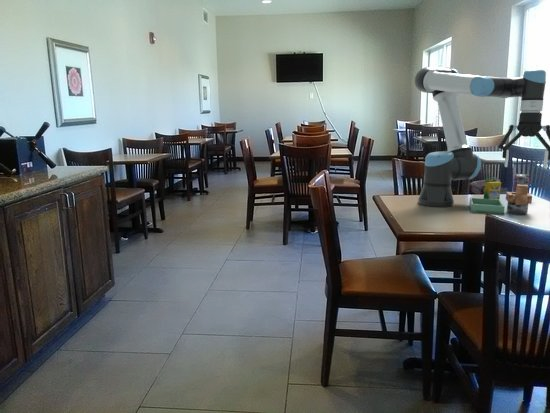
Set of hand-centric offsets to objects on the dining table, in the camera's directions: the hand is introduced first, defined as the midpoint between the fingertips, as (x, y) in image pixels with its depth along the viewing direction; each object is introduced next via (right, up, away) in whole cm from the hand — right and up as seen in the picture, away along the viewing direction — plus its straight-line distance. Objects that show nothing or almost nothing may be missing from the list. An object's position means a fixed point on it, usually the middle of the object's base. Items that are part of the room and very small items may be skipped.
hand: (525, 167), depth 181 cm
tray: (-7, -16, +17) cm, 25 cm away
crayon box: (+2, -14, +33) cm, 36 cm away
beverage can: (+21, -12, +44) cm, 50 cm away
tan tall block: (+1, -13, +7) cm, 15 cm away
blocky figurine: (+2, -18, +10) cm, 21 cm away
